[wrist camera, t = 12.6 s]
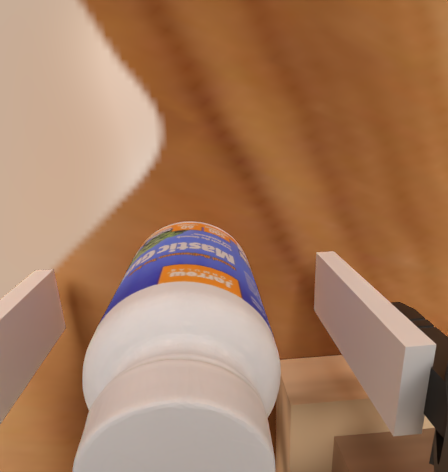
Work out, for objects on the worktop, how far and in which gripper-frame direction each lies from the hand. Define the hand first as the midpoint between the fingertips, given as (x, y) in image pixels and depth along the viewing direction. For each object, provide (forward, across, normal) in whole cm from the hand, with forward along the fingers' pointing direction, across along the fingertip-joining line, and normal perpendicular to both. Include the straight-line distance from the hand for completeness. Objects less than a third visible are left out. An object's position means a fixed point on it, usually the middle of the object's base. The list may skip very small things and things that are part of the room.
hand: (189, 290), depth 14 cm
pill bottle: (+2, 0, 0) cm, 2 cm away
